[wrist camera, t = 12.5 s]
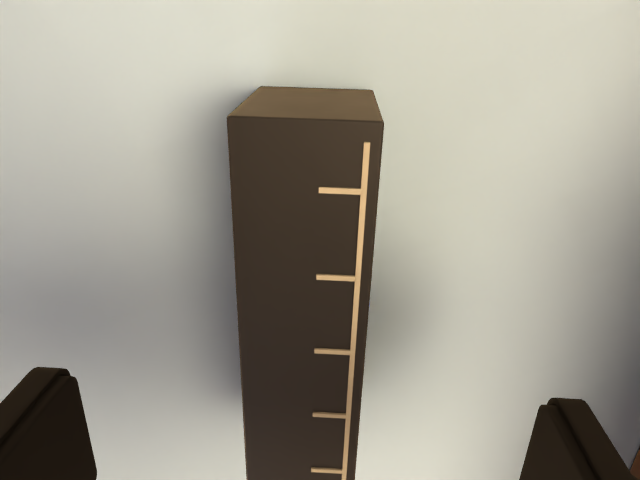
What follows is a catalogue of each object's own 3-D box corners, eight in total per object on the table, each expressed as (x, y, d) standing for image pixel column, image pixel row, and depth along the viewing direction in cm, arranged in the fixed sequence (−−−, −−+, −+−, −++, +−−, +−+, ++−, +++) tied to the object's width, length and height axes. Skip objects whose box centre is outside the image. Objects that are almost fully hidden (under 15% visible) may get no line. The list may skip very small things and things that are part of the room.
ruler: (259, 85, 13) (225, 116, 9) (373, 89, 13) (384, 122, 9) (267, 398, 17) (247, 501, 14) (351, 402, 17) (352, 507, 14)
